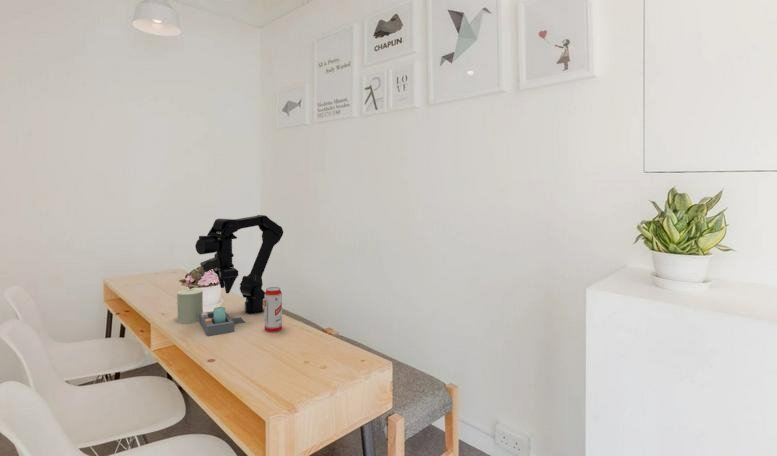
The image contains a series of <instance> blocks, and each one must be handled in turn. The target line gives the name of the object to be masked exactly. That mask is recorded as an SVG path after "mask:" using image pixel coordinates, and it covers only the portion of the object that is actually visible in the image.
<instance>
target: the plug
mask: <svg viewBox="0 0 777 456" xmlns="http://www.w3.org/2000/svg"><path fill="white" fill-rule="evenodd" d="M213 311H214V324H218V323H224V322H226V315H225V312H226V307H225V306H217V307H214V308H213Z"/></svg>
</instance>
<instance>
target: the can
mask: <svg viewBox="0 0 777 456" xmlns="http://www.w3.org/2000/svg"><path fill="white" fill-rule="evenodd" d="M176 295H177V296H176V298H177V301H176V304H177V323H180V324H192V323H197V322H198V323H199V313H204V311H203V310H204V309H203V307H204V306H203V302H204V301H203V299H204V298H203V290H202V289H199V288H188V289H183V290H179V291H177V292H176Z"/></svg>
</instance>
